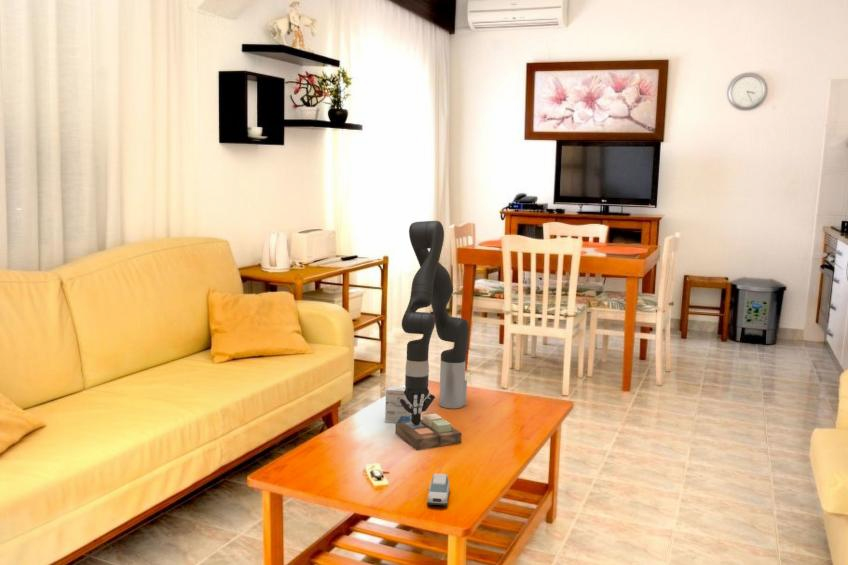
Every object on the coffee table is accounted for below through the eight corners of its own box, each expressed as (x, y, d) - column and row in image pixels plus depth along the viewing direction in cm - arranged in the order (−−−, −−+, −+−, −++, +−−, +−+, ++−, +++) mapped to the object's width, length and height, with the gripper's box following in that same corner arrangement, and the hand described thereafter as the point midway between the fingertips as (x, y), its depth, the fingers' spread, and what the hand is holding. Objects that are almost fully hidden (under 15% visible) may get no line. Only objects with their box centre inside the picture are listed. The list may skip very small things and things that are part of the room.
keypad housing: (438, 427, 256) (438, 417, 256) (461, 443, 242) (461, 432, 242) (395, 433, 249) (395, 423, 249) (416, 450, 235) (416, 439, 235)
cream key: (435, 420, 253) (435, 413, 252) (441, 425, 249) (441, 417, 248) (423, 422, 251) (423, 415, 250) (429, 426, 246) (429, 419, 246)
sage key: (444, 426, 247) (444, 419, 247) (451, 431, 243) (451, 423, 242) (431, 428, 245) (432, 421, 245) (438, 433, 241) (438, 425, 240)
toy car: (425, 509, 195) (426, 490, 195) (429, 488, 208) (430, 471, 207) (447, 510, 195) (448, 492, 194) (450, 489, 208) (451, 472, 207)
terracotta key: (426, 435, 244) (426, 427, 244) (433, 439, 240) (433, 432, 240) (413, 436, 242) (414, 429, 242) (420, 441, 238) (420, 434, 238)
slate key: (418, 428, 250) (418, 421, 250) (424, 433, 246) (424, 425, 246) (405, 430, 248) (405, 423, 248) (411, 435, 244) (411, 427, 244)
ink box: (411, 419, 264) (411, 387, 262) (409, 424, 259) (410, 391, 257) (386, 418, 265) (387, 385, 263) (384, 422, 260) (385, 389, 258)
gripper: (430, 367, 250) (428, 418, 253) (393, 371, 244) (392, 423, 247) (440, 373, 244) (438, 425, 246) (403, 377, 238) (402, 430, 240)
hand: (415, 424), depth 247 cm, fingers closed
